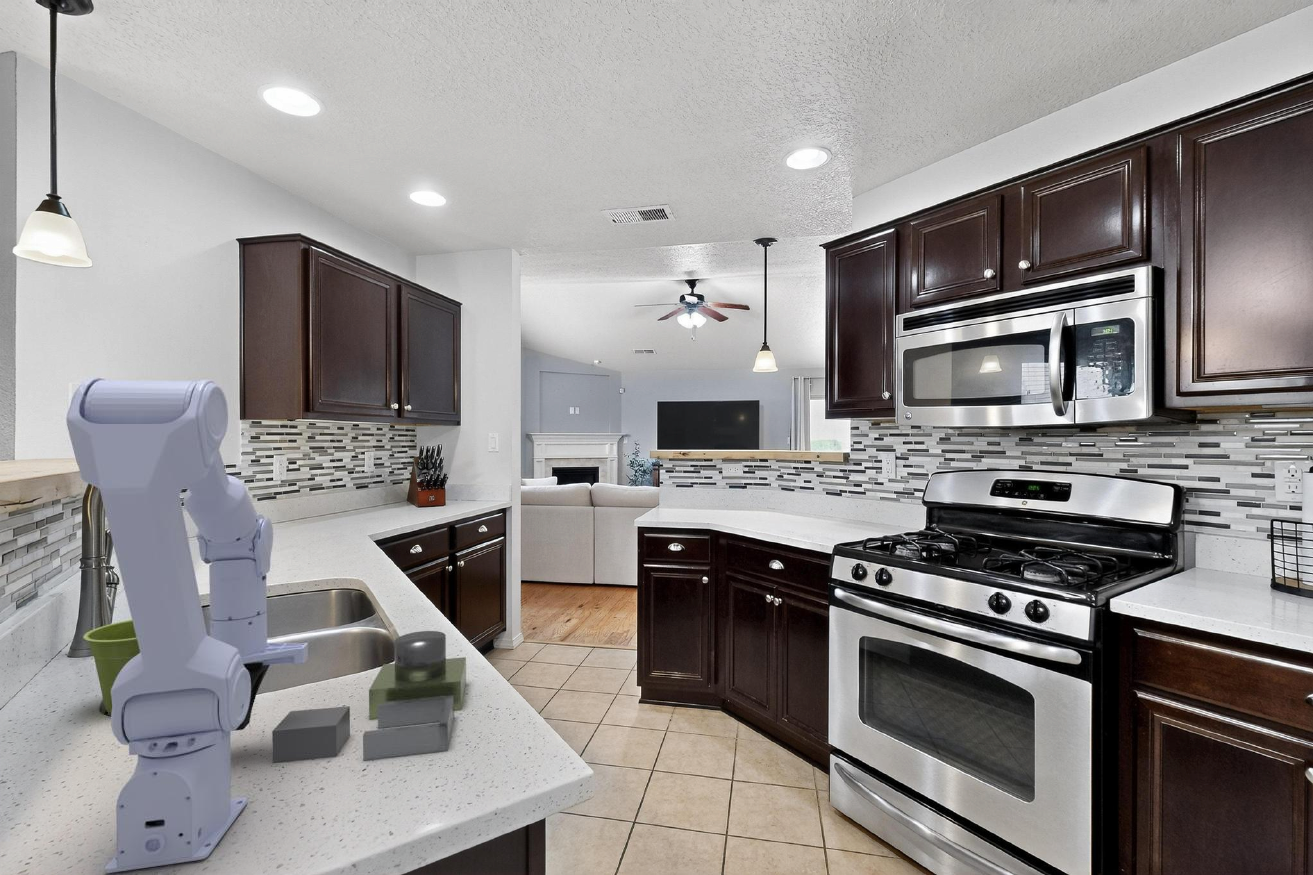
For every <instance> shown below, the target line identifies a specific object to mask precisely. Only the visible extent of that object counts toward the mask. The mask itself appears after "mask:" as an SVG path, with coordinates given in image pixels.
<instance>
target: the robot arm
mask: <svg viewBox="0 0 1313 875" xmlns="http://www.w3.org/2000/svg"><path fill="white" fill-rule="evenodd" d="M70 400H71V401H70V405H69V408H68V410H67V413H66V418H65V419H66V427H67V431H68V434H69V439H70V441H71V446H72V451H73V454H74V457H75V461H76V464H77V467H78V469H79V474H80V478H81V480H82V481H83V482H85V483H88V484H89V485H90V486H94V487H95V488H97V489H98V490H100V495H101V501H102V504H103V508H104V512H105V516H106V520H107V524H108V528H109V532H110V536H111V541H112V545H113V548H114V552H115V556H116V557H115V558H116V561H117V564H118V568H119V572H120V576H121V579H122V580H121V581H122V584H123V589H124V591H125V592H124V593H125V596H126V600H127V601H126V602H127V604H128V607H129V612H130V617H131V620H132V621H133V625H134V629H135V633H136V637H137V641H138V645H139V649H140V653H139V654H138V655H136V656H135V657H134V658H132V659H131V660H130V661H129V662H128V663H127V664H126V665H125V666H124V667H123V668H122V670H121V671H120V673H119V674H118V676H117V678H116V680H115V682H114V684H113V686H112V689H111V697H112V713H110V716H111V717H110V725H111V726H110V727H111V731H112V733H113V734H112V735H114V737H115V738H116V740H117V742H118V743H119V744H121V745H124V746H128V755H129V756H135V755H137V760H136V761H137V762H136V766H135V769H134V772H133V774H132V776H131V777H130V779H129V780H128V781H127V782H126V784H124V786H123V788H122V789H121V790H120V792H119V794H118V798H117V799H116V800H117V801H116V807H115V808H116V815H115V816H116V819H115V820H116V822H115V823H116V855H115V856H113V858H112V859H111V860H110V861H109V862H108V863H107V864H106V865H105V867H104V873H105V874H113V873H118V872H125V871H132V870H138V869H145V868H153V867H160V866H167V865H173V864H180V863H186V862H193V861H200V860H204V859H206V858H208V856H210V855H211V853H212V852H213V850H214V848H215V847H216V846H217V845H218V843H219V842H220V841H221V839H222V838H223V836H224V835H225V834H226V832H227V831H228V830H229V828H230V827H231V825H232V824H233V823H234V821H235V820H236V819H237V817H238V816H239V815H240V813H241V812H242V810H243V809H244V807H245V806H246V805H247V804H248V803H249V802H248V799H249V798H248V797H243V796H242V797H237V798H232V781H231V780H232V776H231V775H232V774H231V772H232V768H231V766H232V764H231V763H232V762H231V761H232V760H231V759H232V758H231V756H232V755H231V750H232V749H231V748H232V747H231V732H235V731H242V730H244V729H246V727H247V726H248V725H249V724H250V723H251V722H250V721H251V717H252V713H253V712H252V711H253V707H254V703H255V699H256V698H257V697H256V696H257V695H258V694H257V693H258V692H259V689H260V686H261V684H262V682H263V679H264V677H265V675H266V673H267V671H268V669H269V668H270V665H281V664H282V665H283V664H291V663H292V664H294V665H301V664H302V665H303V664H304V663H305V662H306V661H307V660H308V658H309V647H308V646H309V643H308V642H304V643H285V642H284V643H282V642H268V615H267V614H268V611H267V608H268V607H267V606H268V604H267V600H268V598H267V594H268V592H267V574H268V573H269V572H270V571H271V555H272V551H273V550H272V549H273V546H274V544H273V543H274V528H273V523H272V521H271V519H270V518H268V517H267V518H265V517H264V515H263V514H260V513H259V514H258V513H257V510H256V508H255V506H254V503H253V501H252V500H251V498H250V495H249V493H248V491H247V489H246V486H245V485H244V483H243V482H242V481H241V480H240V479H239V478H238V477H237V476H236V477H235V476H232V475H230V474H228V473H227V471H226V467H225V465H224V464H225V463H224V461H223V457H222V455H221V452H220V447H221V445H222V441H223V440H224V438H225V436H226V434H227V430H228V423H229V407H228V403H227V398H226V395H225V393H224V390H222V388H221V387H220V386H219V385H218V384H217V383H216V382H215V381H214V380H213V379H201V380H147V379H146V380H142V379H141V380H140V379H139V380H137V379H136V380H135V379H133V380H131V379H105V378H100V377H92V378H90V377H89V378H87V379H85V380H84V381H83V382H81V384H80V385H79V386H78V388H77V389H76V390H75V392H74V393H73V396H72V398H71V399H70ZM185 488H186V489H187V490H186V491H185V493H184V497H183V506H184V508H185V510H186V511H187V513H188V515H189V517H190V518H191V519H192V521H193V524H195V527H196V528H197V529H198V530H197V533H196V541H197V542H198V548H199V549H198V550H199V557H200V559H201V561H202V562H203V563H204V564H205V565H209V566H208V569H209V570H208V571H209V573H208V574H209V576H208V577H209V580H208V581H209V584H208V585H209V635H208V632H207V628H206V623H205V618H204V612H203V607H202V606H203V605H202V603H201V598H200V592H199V587H198V582H197V578H196V572H195V567H194V562H193V557H192V552H191V548H190V547H191V546H190V540H189V536H188V532H187V527H186V523H185V516H184V511H183V507H182V503H181V502H182V501H181V497H180V495H181V493H182V490H183V489H185Z"/></svg>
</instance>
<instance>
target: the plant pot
mask: <svg viewBox="0 0 1313 875" xmlns="http://www.w3.org/2000/svg"><path fill="white" fill-rule="evenodd" d="M82 638H83V640H84V641H85V642H87V643H88V645H89V650H90V653H91V656H93V659H94V662H95V669H96V673H97V677H98V681H99V686H100V691H101V696H102V701H103V706H104V708H105V711H106V712H107V713H109V714H111V713H112V697H111V689H112V686H113V684H114V682H115V680H116V678H117V676H118V674H119V673H120V671H121V670H122V668H123V667H124V666H125V665H126V664H127V663H128V662H129V661H130V660H131V659H132V658H134V657H135V656H136V655H138V654H139V653H140V649H139V645H138V641H137V637H136V633H135V629H134V625H133V621H132V619H129V620H124V621H118V622H113V623H110V624H107V625H103V626H100V627H95V628H94V629H91V630H89V631H88V632H86V633H85V634H84V635H83V636H82Z"/></svg>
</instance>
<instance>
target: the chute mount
mask: <svg viewBox="0 0 1313 875" xmlns="http://www.w3.org/2000/svg"><path fill="white" fill-rule="evenodd" d="M446 637H447V636H446V634H445V633H444V632H442V631H439V630H438V631H437V630H424V631H422V630H421V631H414V632H410V633H405V634H403V635H401V636H398V637H396V639H395V640H394V662H393V663H384V664H382V667H381V668H380V670H379V672H378V673H377V675H376V677H375V679H374V680H373V682H372V684H371V685H370V687H369V689H368V716H369V717H368V718H369V720H375V719H377V726H378V727H377V728H378V729H375V730H365V731H364V732H363V734H362V760H363V762H364V761H370V760H378V759H380V760H381V759H388V758H395V757H403V756H411V755H421V754H422V755H423V754H428V753H437V752H446V751H448V749H449V745H450V739H451V734H452V730H453V725H454V720H455V711H460V710H462V707H463V702H464V696H465V691H466V687H467V686H466V685H467V657H463V656H462V657H454V658H447V649H446V648H447V642H446V639H447V638H446ZM465 686H466V687H465Z"/></svg>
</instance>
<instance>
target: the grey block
mask: <svg viewBox="0 0 1313 875" xmlns="http://www.w3.org/2000/svg"><path fill="white" fill-rule="evenodd" d="M350 711H351V706H349V705H348V706H338V707H337V706H336V707H335V706H334V707H326V708H325V707H324V708H315V709H314V708H313V709H302V710H291V711H289V712H288V714H286V715H285V717H283V719H282V720H281V721H279V723H278V724H277V725H276V726H275V727H274V729H273V730H271V732H272V734H271V735H272V742H271V743H272V745H271V746H272V764H278V763H279V764H280V763H290V762H297V761H301V762H302V761H309V760H318V759H319V760H320V759H328V758H337V757H338V755H340V752H341V751H342V749H343V748H344V746H345V745H346V743H347V741H348V740H349V738H350V736H351V712H350Z"/></svg>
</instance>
